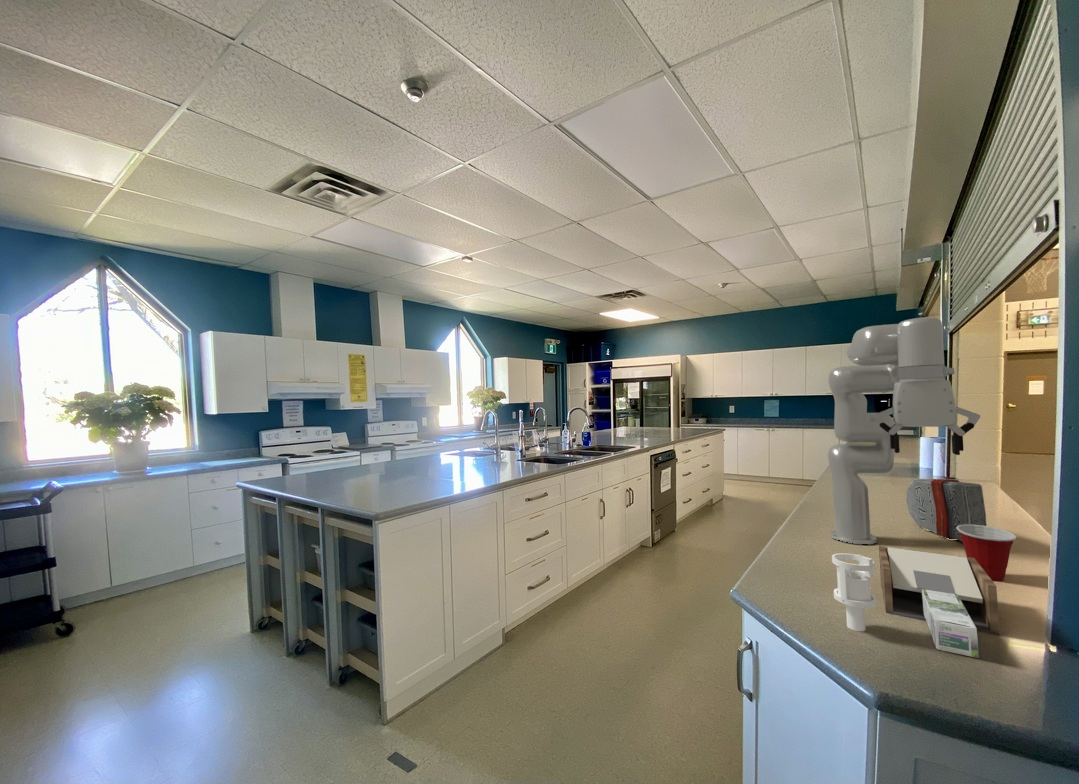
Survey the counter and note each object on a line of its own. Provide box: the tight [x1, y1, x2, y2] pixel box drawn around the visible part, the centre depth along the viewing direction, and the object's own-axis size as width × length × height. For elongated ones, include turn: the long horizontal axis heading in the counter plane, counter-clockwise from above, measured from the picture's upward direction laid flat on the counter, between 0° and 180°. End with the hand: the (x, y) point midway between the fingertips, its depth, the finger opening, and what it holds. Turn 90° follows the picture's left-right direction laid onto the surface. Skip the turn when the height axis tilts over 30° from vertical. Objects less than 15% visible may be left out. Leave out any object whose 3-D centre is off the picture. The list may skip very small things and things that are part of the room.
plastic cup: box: [956, 525, 1017, 582], centre depth 110 cm, size 11×11×12 cm
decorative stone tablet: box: [906, 478, 988, 542], centre depth 144 cm, size 19×6×30 cm
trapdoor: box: [886, 546, 983, 603], centre depth 96 cm, size 14×14×1 cm
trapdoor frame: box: [878, 545, 1000, 636], centre depth 96 cm, size 18×17×10 cm
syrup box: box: [922, 589, 979, 659], centre depth 83 cm, size 6×6×14 cm
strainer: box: [831, 552, 878, 633], centre depth 88 cm, size 7×7×15 cm
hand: (925, 453), depth 93 cm, fingers open, 9 cm apart
